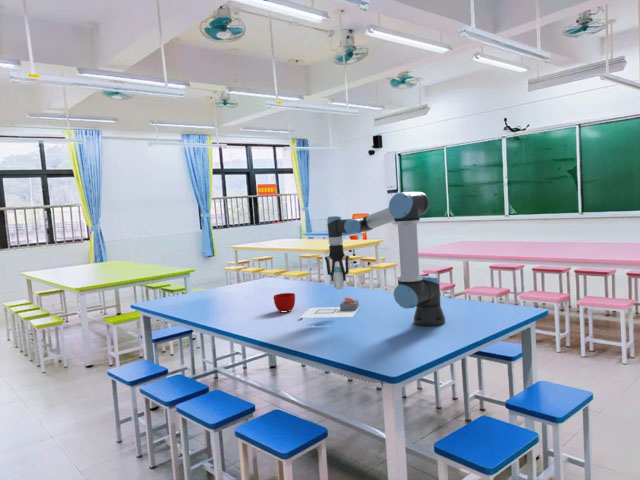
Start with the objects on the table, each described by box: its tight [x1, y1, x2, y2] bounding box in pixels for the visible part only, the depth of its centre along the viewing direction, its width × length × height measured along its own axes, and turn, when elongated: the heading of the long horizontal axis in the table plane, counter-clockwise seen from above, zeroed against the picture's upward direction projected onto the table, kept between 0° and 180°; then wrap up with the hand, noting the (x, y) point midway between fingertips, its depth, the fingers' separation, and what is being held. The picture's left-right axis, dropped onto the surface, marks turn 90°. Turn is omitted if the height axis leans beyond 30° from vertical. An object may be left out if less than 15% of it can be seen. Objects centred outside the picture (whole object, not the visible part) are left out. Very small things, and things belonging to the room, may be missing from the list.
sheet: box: [298, 306, 360, 319], centre depth 262 cm, size 24×30×1 cm
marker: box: [334, 265, 344, 290], centre depth 252 cm, size 4×4×12 cm
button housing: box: [339, 299, 360, 312], centre depth 266 cm, size 9×9×4 cm
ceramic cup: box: [273, 292, 296, 312], centre depth 279 cm, size 13×17×10 cm
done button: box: [344, 296, 354, 303], centre depth 266 cm, size 5×5×4 cm
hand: (339, 286), depth 252 cm, fingers closed on marker, 4 cm apart
